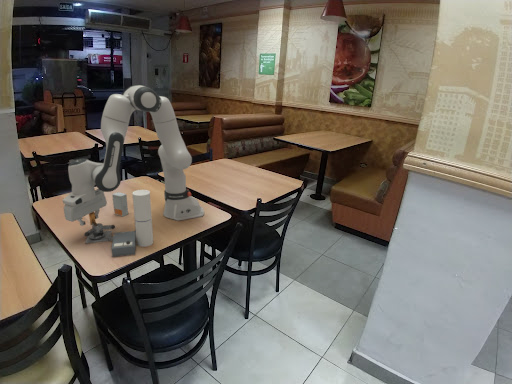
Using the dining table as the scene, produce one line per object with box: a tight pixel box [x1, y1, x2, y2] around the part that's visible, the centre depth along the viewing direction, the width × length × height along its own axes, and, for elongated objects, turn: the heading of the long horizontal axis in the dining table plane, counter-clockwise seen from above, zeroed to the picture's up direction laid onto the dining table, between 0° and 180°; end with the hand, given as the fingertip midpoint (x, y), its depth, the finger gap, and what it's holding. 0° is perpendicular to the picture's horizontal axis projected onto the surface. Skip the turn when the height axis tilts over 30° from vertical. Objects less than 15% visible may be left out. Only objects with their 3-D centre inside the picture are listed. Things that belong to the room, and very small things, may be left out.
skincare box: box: [111, 191, 129, 217], centre depth 163 cm, size 6×4×12 cm
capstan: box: [83, 211, 116, 240], centre depth 141 cm, size 13×12×10 cm
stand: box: [84, 229, 137, 258], centre depth 137 cm, size 22×24×6 cm
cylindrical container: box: [132, 189, 154, 248], centre depth 135 cm, size 7×7×25 cm
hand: (89, 221), depth 142 cm, fingers open, 6 cm apart
